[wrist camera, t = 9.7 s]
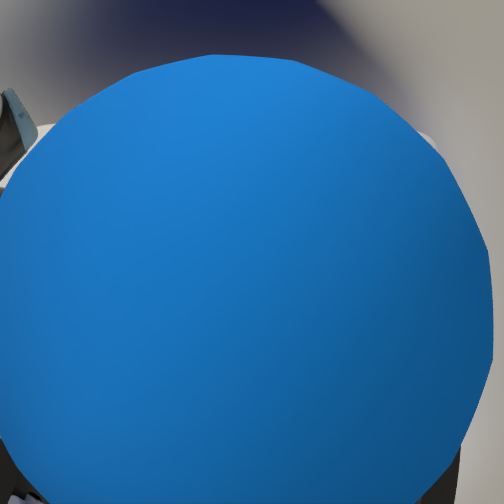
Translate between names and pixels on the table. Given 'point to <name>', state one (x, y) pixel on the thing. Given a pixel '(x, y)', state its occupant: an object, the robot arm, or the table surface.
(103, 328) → the thermos
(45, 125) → the table surface
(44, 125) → the table surface
